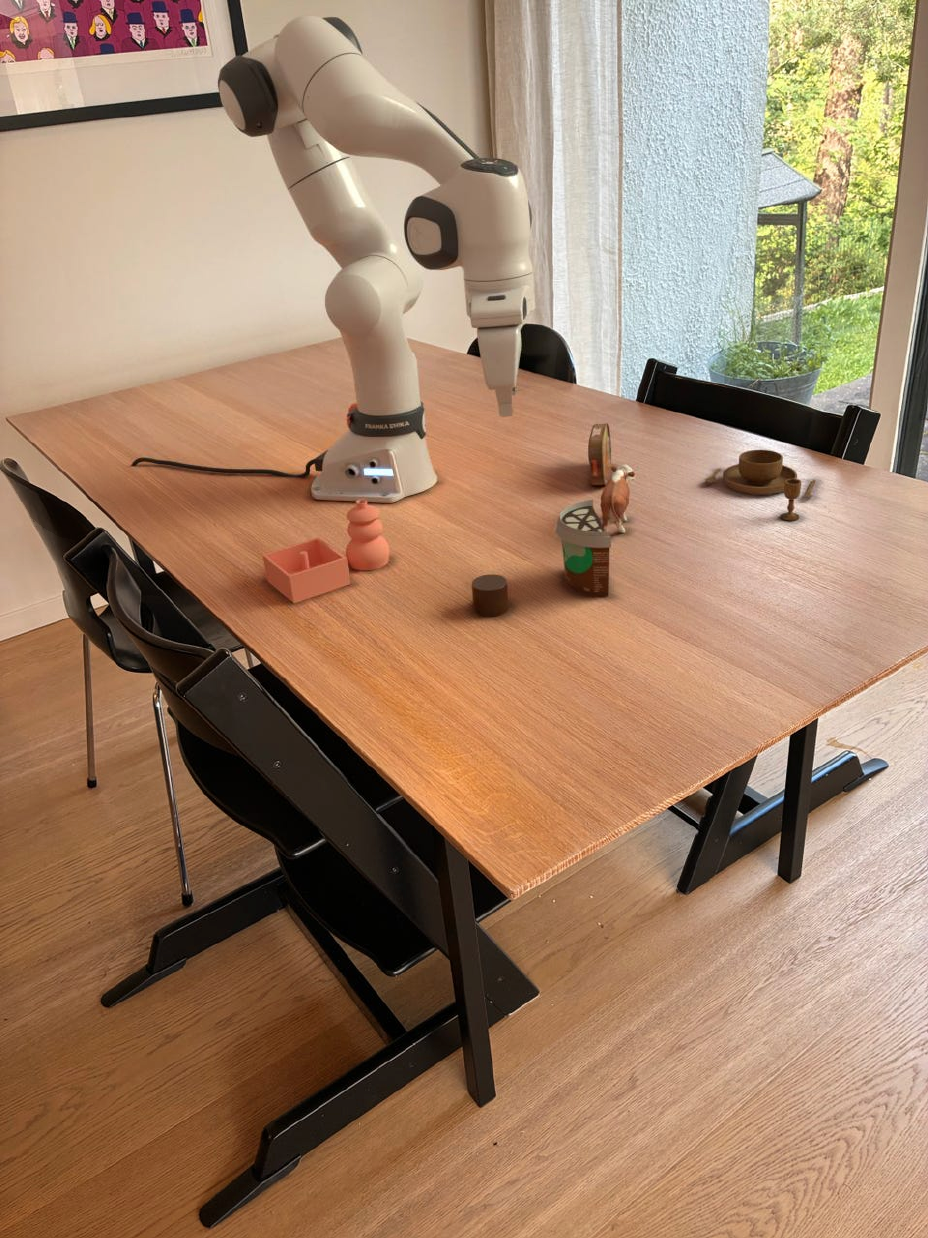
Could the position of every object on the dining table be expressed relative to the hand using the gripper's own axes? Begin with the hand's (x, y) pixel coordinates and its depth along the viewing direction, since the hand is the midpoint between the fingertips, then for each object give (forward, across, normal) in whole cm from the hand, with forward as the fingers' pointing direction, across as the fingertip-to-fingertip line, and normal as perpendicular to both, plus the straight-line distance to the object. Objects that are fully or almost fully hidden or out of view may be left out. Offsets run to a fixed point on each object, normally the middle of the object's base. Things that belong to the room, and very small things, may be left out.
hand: (508, 404), depth 134 cm
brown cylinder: (+24, +12, -4) cm, 27 cm away
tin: (+25, -36, +12) cm, 45 cm away
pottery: (+24, 0, -28) cm, 37 cm away
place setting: (+26, -26, +38) cm, 52 cm away
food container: (+25, +5, +8) cm, 27 cm away
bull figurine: (+25, -15, +14) cm, 32 cm away
